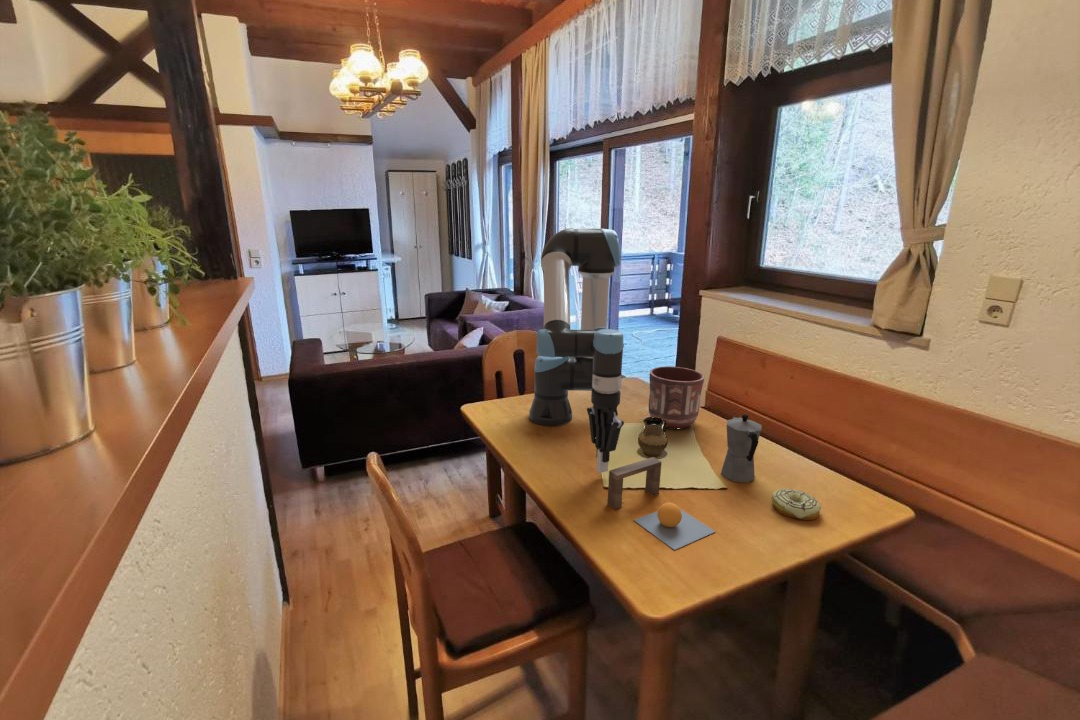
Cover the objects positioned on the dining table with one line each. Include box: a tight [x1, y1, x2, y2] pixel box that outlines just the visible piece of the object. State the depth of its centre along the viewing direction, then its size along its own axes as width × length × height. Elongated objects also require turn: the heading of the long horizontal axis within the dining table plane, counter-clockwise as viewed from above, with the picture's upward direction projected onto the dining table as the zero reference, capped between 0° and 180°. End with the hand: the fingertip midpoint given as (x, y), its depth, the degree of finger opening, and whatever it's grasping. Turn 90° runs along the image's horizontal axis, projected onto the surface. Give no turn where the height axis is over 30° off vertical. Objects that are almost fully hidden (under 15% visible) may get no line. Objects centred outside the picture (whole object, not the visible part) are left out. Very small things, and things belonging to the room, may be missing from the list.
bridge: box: [607, 456, 662, 510], centre depth 131 cm, size 3×14×9 cm, turn 122°
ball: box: [657, 502, 682, 527], centre depth 121 cm, size 6×6×6 cm
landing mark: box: [633, 508, 717, 551], centre depth 121 cm, size 13×13×1 cm
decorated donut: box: [771, 488, 822, 521], centre depth 128 cm, size 10×11×4 cm
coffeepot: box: [720, 413, 762, 484], centre depth 142 cm, size 15×9×18 cm, turn 0°
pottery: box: [648, 366, 705, 430], centre depth 178 cm, size 18×18×18 cm
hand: (602, 470), depth 143 cm, fingers closed
